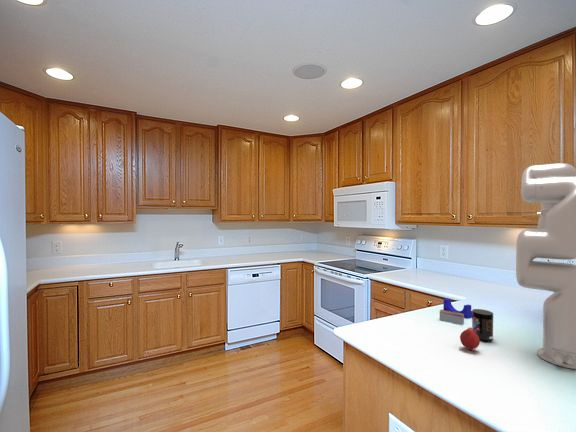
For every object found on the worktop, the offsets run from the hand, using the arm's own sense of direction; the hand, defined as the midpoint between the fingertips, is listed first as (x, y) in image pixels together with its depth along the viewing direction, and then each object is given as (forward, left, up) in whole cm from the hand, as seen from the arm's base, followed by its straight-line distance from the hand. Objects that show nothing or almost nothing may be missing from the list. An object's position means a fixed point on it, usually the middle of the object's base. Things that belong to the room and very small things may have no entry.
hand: (552, 253), depth 128 cm
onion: (-57, +23, -31) cm, 68 cm away
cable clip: (-17, +34, -31) cm, 49 cm away
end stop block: (-30, +34, -31) cm, 55 cm away
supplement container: (-43, +21, -31) cm, 57 cm away
